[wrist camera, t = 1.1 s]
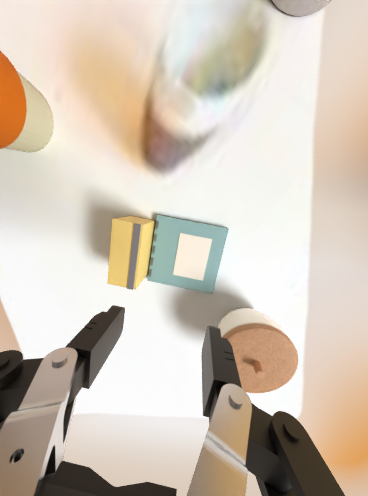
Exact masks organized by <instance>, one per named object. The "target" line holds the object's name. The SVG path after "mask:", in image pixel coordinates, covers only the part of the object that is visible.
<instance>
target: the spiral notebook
mask: <svg viewBox="0 0 368 496" xmlns="http://www.w3.org/2000/svg"><path fill="white" fill-rule="evenodd" d="M227 233H228V228H224V227H219V226H214V225H209V224H204V223H199V222H193V221H188V220H183V219H178V218H173V217H167V216H162V215H157V217H156V224H155V231H154V239H153V246H152V253H151V260H150V267H149V274H148V281H153V282H157V283H162V284H167V285H172V286H177V287H182V288H186V289H191V290H196V291H201V292H206V293H211V294H212V293H213V289H214V285H215V281H216V277H217V273H218V269H219V265H220V261H221V257H222V253H223V249H224V245H225V241H226V237H227Z"/></svg>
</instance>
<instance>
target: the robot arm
mask: <svg viewBox="0 0 368 496" xmlns="http://www.w3.org/2000/svg"><path fill="white" fill-rule="evenodd" d="M272 1H273V3H274V4H275V5H276V6H277V7H278V8H279V9H280V10H282V11H283V12H285V13H287V14H290V15H293V16H304V15H308V14H312V13H314V12H316V11H318V10H320V9H322V8H323V7H324V6H326V5H327V4H328V3H329V2H330V1H331V0H272ZM124 313H125V308H123V307H119V306H114V305H113V306H112V307H111V308H110V309H109V310H108V311H107V312H101V313H99V314H97V315H95V316H94V317H93V318H92V319H91V320H90V321H89V323H88V324H87V325H86V326H85V327H84V328H83V329H82V330H81V331H80V332H79V333H78V334H77V335H76V336H75V337H74V338H73V340H72V341H71V342H70V343H69V344H68V345H67V346H66V347H65V348H60V349H57V350H54V351H52V352H51V353H49V354H48V355H47V356H46V357H45V358H40V359H27V360H23V355H22V353H21V352H19V351H16V350H9V351H4V352H0V496H176V489H174V488H170V487H166V486H162V485H158V484H154V483H150V482H145V483H139V484H133V485H127V486H121V487H114V486H112V485H111V484H109V483H108V482H107V481H106V480H104V479H103V478H102V477H101V476H99V475H98V474H97V473H96V472H94V471H93V470H92V469H90V468H89V467H85V466H81V465H77V464H73V463H69V462H65V461H63V457H64V451H65V446H66V441H67V437H68V433H69V428H70V424H71V420H72V415H73V411H74V406H75V402H76V396H77V394H78V392H79V391H80V389H81V388H82V387H83V388H87V389H89V388H90V386H91V384H92V383H93V381H94V379H95V378H96V376H97V374H98V373H99V371H100V369H101V368H102V366H103V364H104V363H105V361H106V359H107V358H108V356H109V354H110V353H111V351H112V349H113V348H114V346H115V344H116V343H117V341H118V339H119V337H120V335H121V333H122V329H123V322H124ZM202 392H203V416H206V417H209V428H208V432H207V435H206V438H205V441H204V444H203V447H202V450H201V453H200V456H199V459H198V463H197V465H196V469H195V472H194V475H193V478H192V481H191V484H190V487H189V490H188V493H187V496H245V493H246V483H247V470H248V471H250V472H251V473H253V474H254V475H255V476H256V479H257V482H258V485H259V488H260V491H261V494H262V496H345V495H344V493H343V491H342V490H341V488H340V486H339V485H338V483H337V482H336V480H335V478H334V476H333V475H332V473H331V471H330V470H329V468H328V466H327V465H326V463H325V462H324V460H323V458H322V457H321V455H320V453H319V452H318V450H317V448H316V447H315V445H314V443H313V442H312V440H311V438H310V437H309V435H308V433H307V432H306V430H305V429H304V427H303V426H302V425H301V424H300V422H299V421H298V420H296V419H295V418H294V417H293V416H291V415H290V414H288V413H286V412H282V411H278V412H276V413H275V414H274V415H273V416H271V415H269V414H268V413H266V412H264V411H262V410H261V409H259V408H257V407H256V406H255V405H253V404H252V403H251V401H250V398H249V397H248V395H247V394H246V392H245V391H244V390H243V389H242V386H241V382H240V378H239V373H238V369H237V365H236V362H235V357H234V352H233V348H232V345H231V344H230V342H229V341H228V339H227V338H222V337H221V332H220V328H217V327H212V326H208V327H207V331H206V335H205V339H204V343H203V347H202Z"/></svg>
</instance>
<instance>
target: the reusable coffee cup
mask: <svg viewBox="0 0 368 496" xmlns="http://www.w3.org/2000/svg"><path fill="white" fill-rule="evenodd" d="M52 133H53V116H52V112H51V109H50V106H49V104H48V102H47V100H46V99H45V97H44V96H43V95H42V93H40V92H39V91H38V90H37V89H36V88H35V87H34V86H33V85H32V84H31V83H30V82H29V81H27V80H26V79H25V78H24V77H23V76H22V75H21V74H20V73H19V72H17V71H16V69H15V68H14V66H13V65H12V63H11V62H10V61H9V59H8V58H7V57H6V56H5V55H4V54H3V53H2V52H1V51H0V149H1V148H7V149H13V150H18V151H24V152H36V151H39V150H41V149H42V148H44V147H45V146H46V145H47V144H48V142H49V140H50V139H51V136H52Z"/></svg>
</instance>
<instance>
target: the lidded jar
mask: <svg viewBox="0 0 368 496" xmlns="http://www.w3.org/2000/svg"><path fill="white" fill-rule="evenodd" d="M217 328H220V332H221V337H222V338H227V339H228V341H229V342H230V344H231V345H232V348H233V352H234V357H235V362H236V365H237V369H238V373H239V378H240V382H241V386H242V389H243V390H244V391H245V392H249V393H264V392H269V391H272V390H276V389H278V388H280V387H281V386H283V385H284V384H286V383H287V382H288V381H289V380H290V379H291V378H292V377H293V375H294V373H295V371H296V369H297V365H298V354H297V351H296V349H295V347H294V345H293V343H292V342H291V340H290V339H289V338H288V337H287V336H286V334H285V333H284V332H283V330H282V329H281V328H280V327H279V325H278V324H277V323H276V322H275V321H274V320H272V319H271V318H270V317H269V316H267V315H266V314H264V313H262V312H260V311H258V310H255V309H250V308H240V309H236V310H233V311H231V312H229V313H228V314H227V315H225V316H224V317H223V318H222V320H221V321H220V323H219V325H218V327H217Z"/></svg>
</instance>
